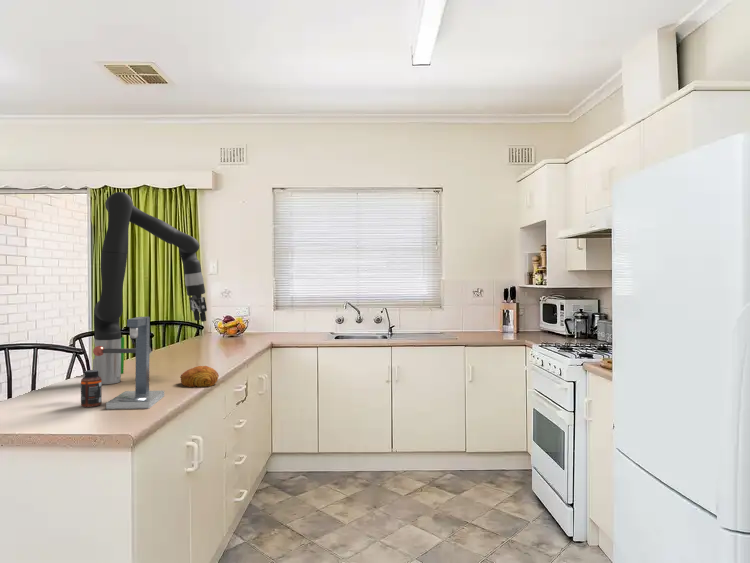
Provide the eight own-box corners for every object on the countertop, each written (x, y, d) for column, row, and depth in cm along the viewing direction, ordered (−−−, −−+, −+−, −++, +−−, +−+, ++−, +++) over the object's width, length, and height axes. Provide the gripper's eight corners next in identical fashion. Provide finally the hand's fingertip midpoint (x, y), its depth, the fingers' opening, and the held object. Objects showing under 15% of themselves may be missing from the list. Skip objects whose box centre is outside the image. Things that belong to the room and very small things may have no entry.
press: (106, 409, 170) (106, 320, 169) (125, 396, 187) (126, 316, 187) (149, 408, 171) (149, 320, 171) (164, 396, 189) (164, 316, 189)
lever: (91, 356, 185) (91, 346, 185) (95, 355, 188) (95, 345, 188) (148, 356, 187) (148, 346, 187) (151, 355, 190) (151, 344, 190)
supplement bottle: (105, 404, 176) (106, 370, 176) (89, 408, 170) (89, 372, 170) (93, 402, 178) (93, 368, 178) (76, 406, 173) (76, 371, 173)
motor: (129, 372, 236) (129, 326, 236) (113, 375, 228) (113, 328, 228) (111, 370, 240) (111, 326, 240) (94, 374, 231) (94, 327, 231)
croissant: (217, 385, 221) (218, 365, 222) (219, 387, 207) (219, 365, 208) (180, 386, 217) (181, 365, 218) (179, 387, 202) (180, 366, 203)
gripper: (181, 285, 235) (186, 321, 237) (191, 285, 224) (197, 323, 225) (198, 282, 240) (203, 318, 241) (208, 282, 228) (214, 320, 230)
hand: (200, 320), depth 233 cm, fingers open, 8 cm apart
